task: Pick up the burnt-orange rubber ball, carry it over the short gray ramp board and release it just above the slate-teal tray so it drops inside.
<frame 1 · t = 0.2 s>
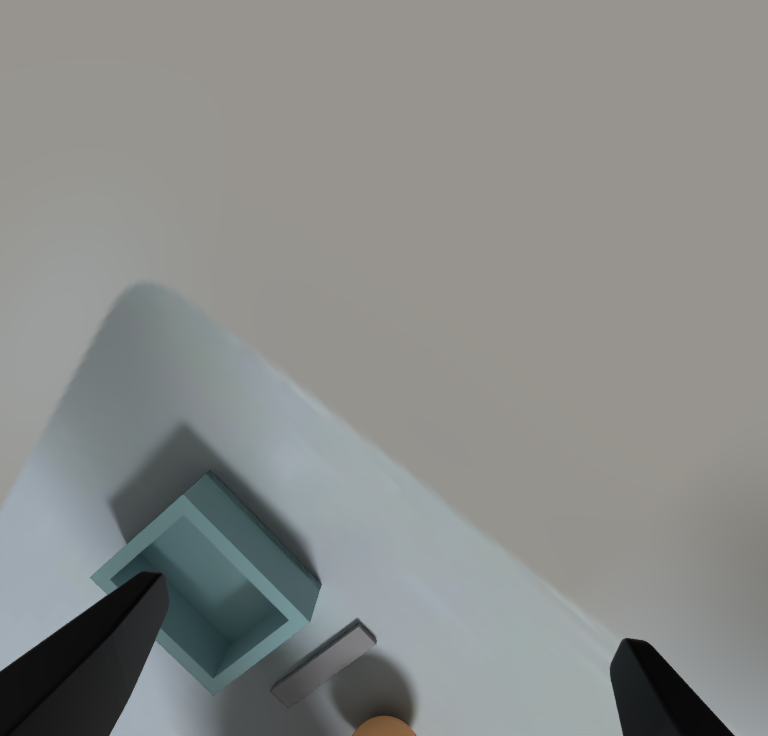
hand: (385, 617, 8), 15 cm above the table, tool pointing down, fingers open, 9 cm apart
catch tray: (223, 564, 26), on the table
gray ramp board: (323, 664, 27), on the table
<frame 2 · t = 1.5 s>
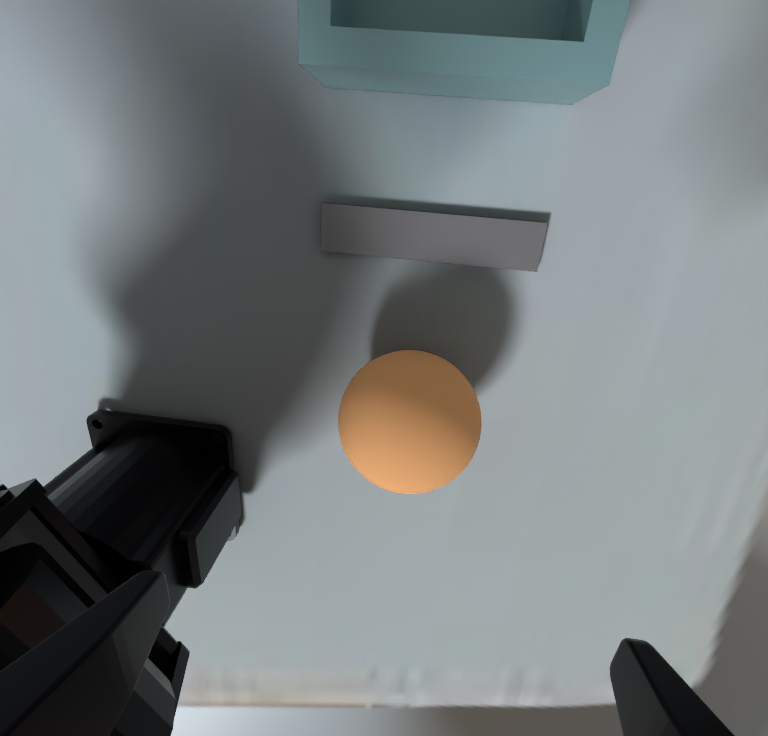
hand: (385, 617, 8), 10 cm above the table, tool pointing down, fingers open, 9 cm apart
ball: (409, 420, 15), point 2 cm above the table
gray ramp board: (429, 236, 15), on the table
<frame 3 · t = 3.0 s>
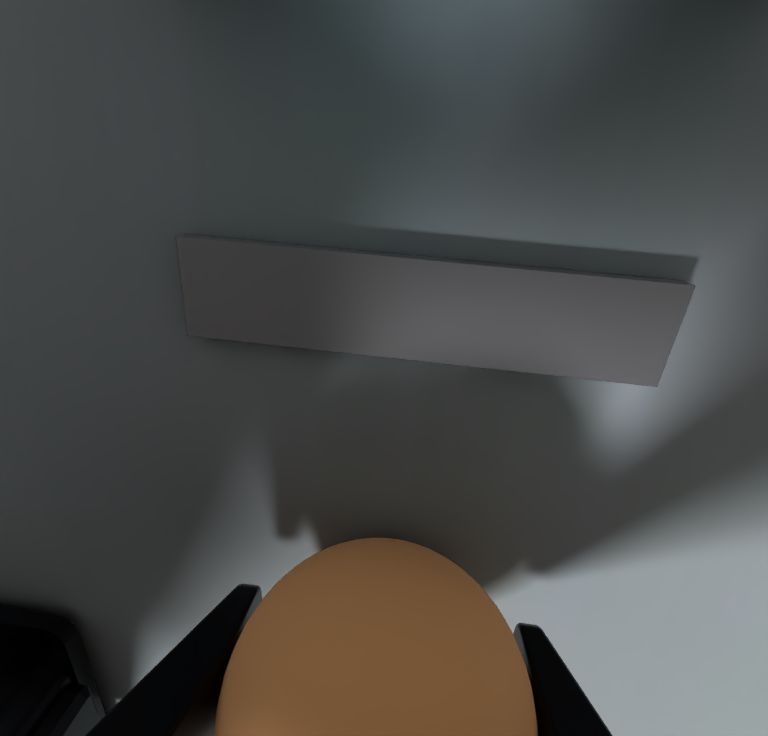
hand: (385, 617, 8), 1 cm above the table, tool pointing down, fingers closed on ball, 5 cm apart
ball: (376, 700, 7), point 2 cm above the table, touching gripper
gray ramp board: (420, 307, 7), on the table
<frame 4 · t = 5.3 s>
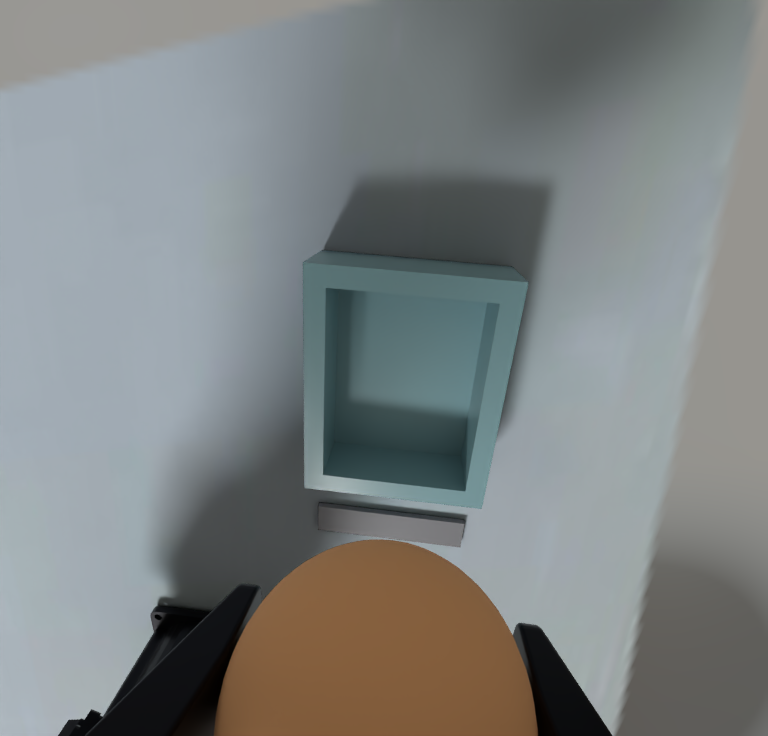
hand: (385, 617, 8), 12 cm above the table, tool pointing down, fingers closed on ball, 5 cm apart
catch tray: (405, 367, 19), on the table
ball: (376, 703, 7), point 13 cm above the table, touching gripper
gray ramp board: (389, 522, 23), on the table
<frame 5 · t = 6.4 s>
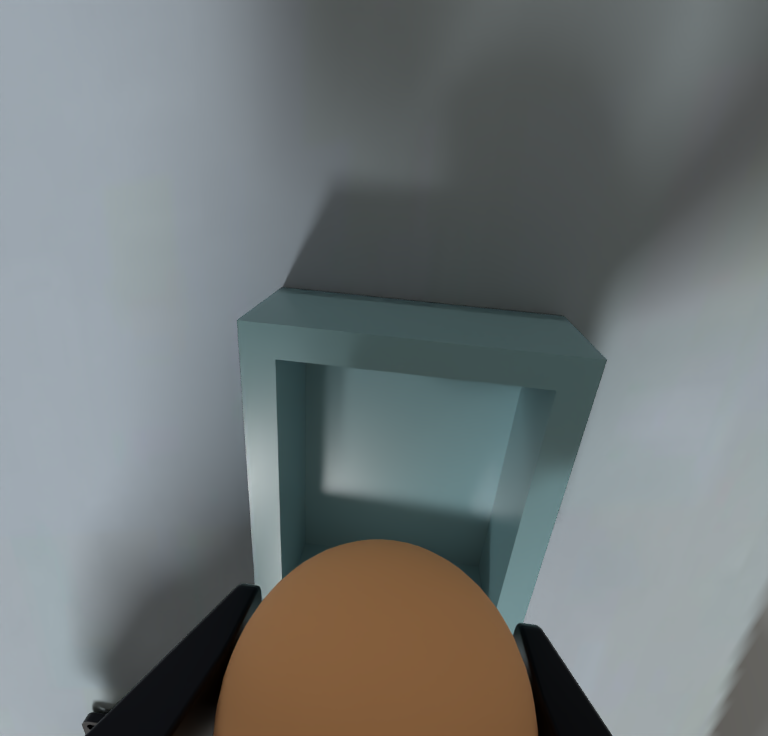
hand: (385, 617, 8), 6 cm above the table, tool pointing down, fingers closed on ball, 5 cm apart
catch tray: (403, 449, 13), on the table
ball: (376, 703, 7), point 7 cm above the table, touching gripper
when the fingers open (4 cm above the table, at t = 7.6 s): ball drops 2 cm, resting on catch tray.
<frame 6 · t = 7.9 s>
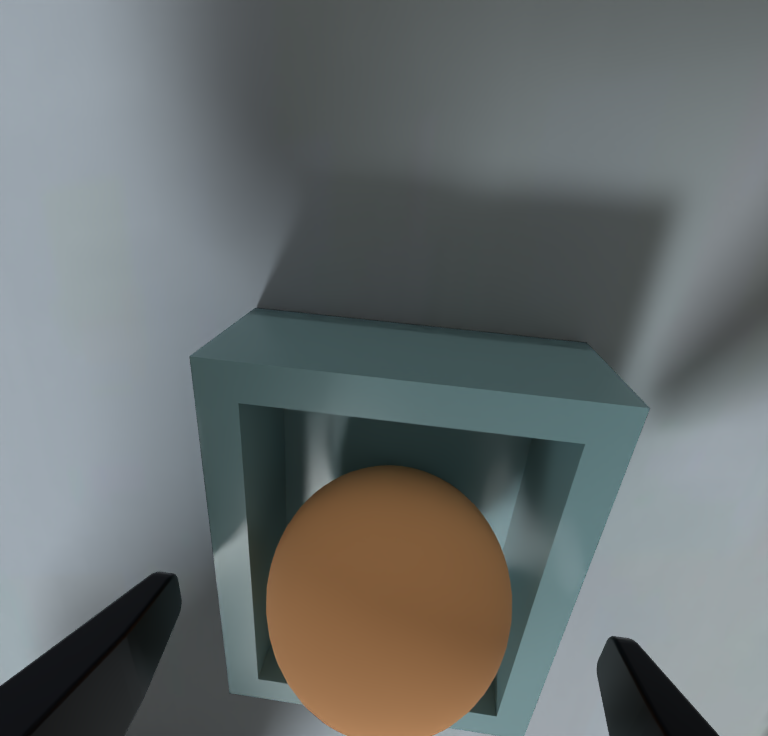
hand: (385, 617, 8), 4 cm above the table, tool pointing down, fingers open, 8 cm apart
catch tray: (398, 490, 12), on the table
ball: (388, 586, 9), point 3 cm above the table, touching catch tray
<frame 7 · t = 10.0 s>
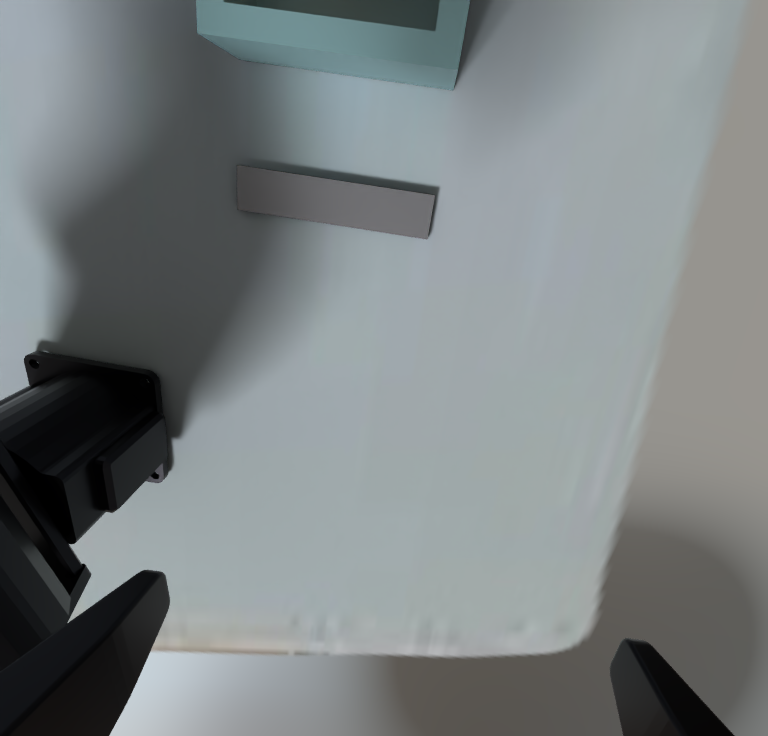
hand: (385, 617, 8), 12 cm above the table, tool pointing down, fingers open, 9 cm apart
gray ramp board: (334, 202, 17), on the table
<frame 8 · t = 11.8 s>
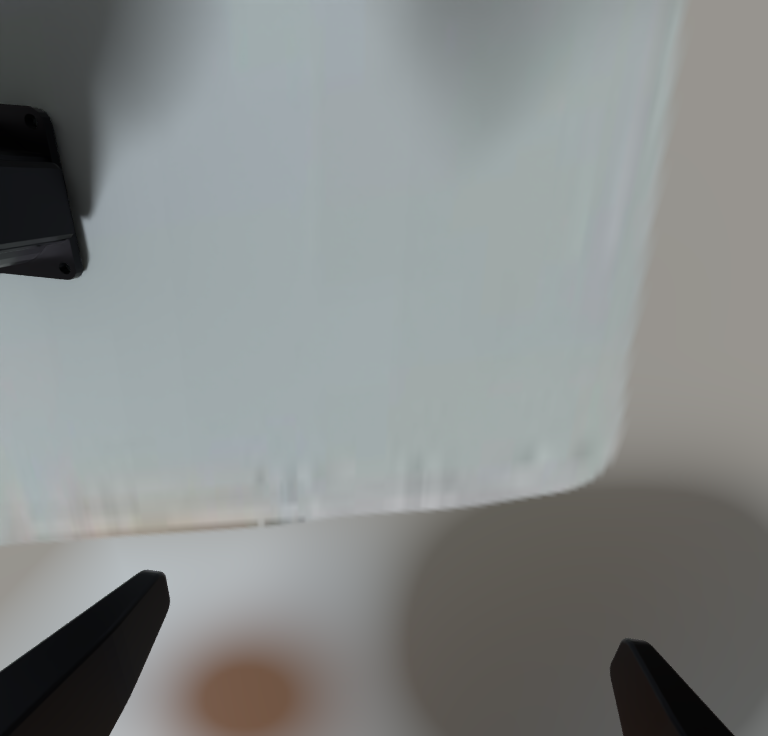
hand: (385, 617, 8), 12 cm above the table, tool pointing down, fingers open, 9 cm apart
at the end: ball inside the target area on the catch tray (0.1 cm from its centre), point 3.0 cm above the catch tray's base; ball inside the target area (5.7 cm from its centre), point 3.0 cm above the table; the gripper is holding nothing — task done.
